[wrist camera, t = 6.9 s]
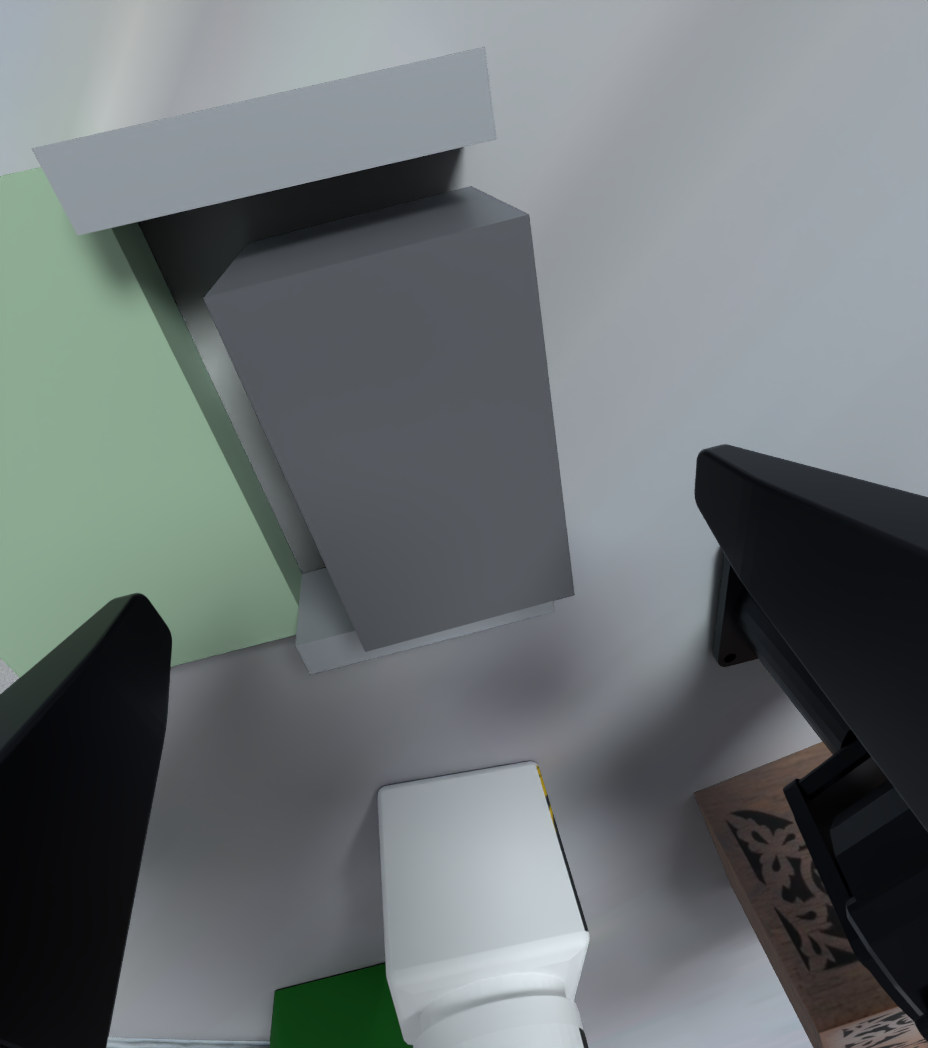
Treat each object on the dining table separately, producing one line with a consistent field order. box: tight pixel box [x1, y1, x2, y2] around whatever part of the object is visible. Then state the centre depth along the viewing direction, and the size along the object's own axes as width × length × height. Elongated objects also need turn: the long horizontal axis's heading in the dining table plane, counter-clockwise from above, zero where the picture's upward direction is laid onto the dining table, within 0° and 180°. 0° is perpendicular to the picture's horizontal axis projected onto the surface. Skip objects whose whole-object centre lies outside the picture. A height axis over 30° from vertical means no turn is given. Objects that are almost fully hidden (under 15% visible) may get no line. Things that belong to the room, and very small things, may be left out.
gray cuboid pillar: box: [203, 186, 574, 652], centre depth 13 cm, size 8×5×5 cm, turn 11°
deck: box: [0, 47, 555, 677], centre depth 13 cm, size 12×15×3 cm
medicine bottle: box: [378, 761, 590, 1048], centre depth 22 cm, size 7×7×12 cm
